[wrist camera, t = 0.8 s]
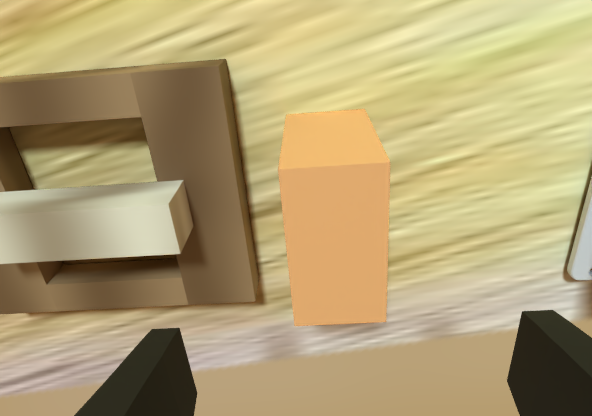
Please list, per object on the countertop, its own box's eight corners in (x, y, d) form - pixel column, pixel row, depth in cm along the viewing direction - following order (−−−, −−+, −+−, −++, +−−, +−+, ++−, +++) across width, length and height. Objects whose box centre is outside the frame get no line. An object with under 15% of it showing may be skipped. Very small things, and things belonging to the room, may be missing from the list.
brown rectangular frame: (225, 59, 15) (206, 77, 12) (258, 280, 20) (250, 334, 17) (-88, 84, 16) (-183, 107, 13) (14, 293, 21) (-37, 347, 18)
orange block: (364, 109, 16) (390, 161, 11) (364, 234, 19) (386, 322, 14) (286, 114, 16) (278, 169, 11) (297, 238, 19) (294, 326, 14)
